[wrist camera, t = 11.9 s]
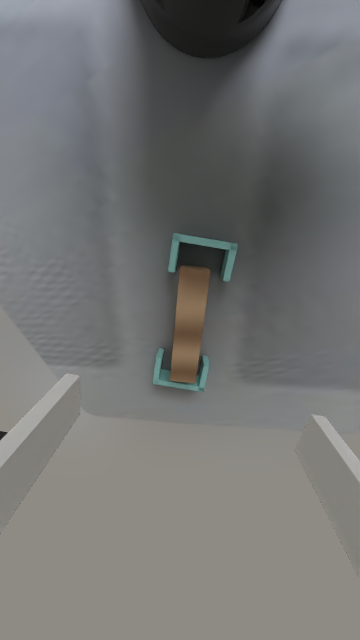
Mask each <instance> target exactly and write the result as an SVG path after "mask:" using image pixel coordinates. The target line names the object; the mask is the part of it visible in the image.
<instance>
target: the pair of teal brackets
mask: <svg viewBox="0 0 360 640" xmlns="http://www.w3.org/2000/svg"><path fill="white" fill-rule="evenodd" d="M180 242H182V243H188V244H194V245H200V246H206V247H212V248H218V249H224V250H226V251H225V256H224V260H223V265H222V269H221V274H220V278H221V279H222V280H223V281H228V282H229V281H230V277H231V273H232V269H233V264H234V260H235V256H236V252H237V247H238V244H236V243H230V242H224V241H218V240H212V239H206V238H200V237H194V236H188V235H183V234H177V233H173V238H172V246H171V253H170V260H169V267H168V272H175V271H176V267H177V260H178V254H179V247H180ZM163 354H164V349H162V348H159V350H158V353H157V356H156V362H155V369H154V376H153V383H152V384H157V385H163V386H169V387H175V388H181V389H187V390H193V391H199V392H203V391H204V387H205V383H206V379H207V375H208V370H209V361H208V356H204V355H203V356H202V361H201V365H200V370H199V374H198V375H197V376H196V383H187V382H177V381H170V373H171V370H165V369H161V367H162V360H163Z"/></svg>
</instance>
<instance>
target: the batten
mask: <svg viewBox="0 0 360 640" xmlns="http://www.w3.org/2000/svg"><path fill="white" fill-rule="evenodd" d="M210 273H211V271H210V270H209V268H208V267H199V266H189V265H181V267H180V272H179V283H178V294H177V306H176V317H175V328H174V339H173V351H172V362H171V373H170V381H177V382H187V383H196V376H197V369H198V361H199V354H200V347H201V339H202V332H203V324H204V317H205V310H206V302H207V295H208V288H209V280H210Z"/></svg>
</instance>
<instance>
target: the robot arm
mask: <svg viewBox="0 0 360 640" xmlns="http://www.w3.org/2000/svg"><path fill="white" fill-rule="evenodd" d="M141 1H142V4H143V6H144V8H145V10H146V12H147V14H148V16H149V18H150V20H151V21H152V23H153V25H154V26H155V27H156V29H157V30H158V31H159V33H160V34H161V35H162V36H163V37H164V38H165V39H166V40H167V41H168V42H169V43H170V44H172V45H173V46H174V47H176V48H177V49H179V50H181V51H183V52H185V53H187V54H190V55H193V56H198V57H218V56H222V55H226V54H228V53H231V52H233V51H235V50H237V49H239V48H241V47H242V46H244V45H245V44H247V43H248V42H249V41H250V40H252V39H253V38H254V37H255V36H256V35H257V34H258V33H259V32H260V31H261V30H262V29H263V28H264V26H265V25H266V24H267V23H268V21H269V20H270V18H271V17H272V16H273V14H274V12H275V11H276V9H277V7H278V5H279V4H280V2H281V0H141ZM79 415H80V376H79V375H73V374H67V373H66V374H65V375H64V376H63V377H62V378H61V379H60V380H59V381H58V382H57V383H56V384H55V385H54V387H52V388H51V390H49V392H48V393H47V394H46V395H45V396H44V397H43V398H42V399H41V400H40V401H39V402H38V403H37V404H36V405H35V406H34V407H33V408H32V409H31V410H30V411H29V412H28V413H27V414H26V415H25V416H24V417H23V418H22V419H21V420H20V421H19V422H18V423H17V424H16V425H15V426H14V427H13V428H12V429H11V430H10V431H9V432H2V431H0V534H1V532H2V530H3V529H4V528H5V526H6V525H7V523H8V522H9V520H10V518H11V517H12V515H13V514H14V513H15V511H16V509H17V508H18V506H19V505H20V504H21V502H22V501H23V499H24V498H25V496H26V494H27V493H28V491H29V490H30V489H31V487H32V486H33V484H34V483H35V481H36V479H37V478H38V476H39V475H40V473H41V472H42V470H43V469H44V467H45V466H46V464H47V463H48V461H49V460H50V458H51V457H52V455H53V454H54V452H55V451H56V449H57V448H58V446H59V445H60V443H61V442H62V440H63V439H64V437H65V436H66V434H67V433H68V431H69V430H70V428H71V427H72V425H73V424H74V422H75V421H76V419H77V418H78V416H79ZM295 452H296V454H297V455H298V458H299V460H300V462H301V464H302V466H303V468H304V470H305V472H306V473H307V475H308V478H309V479H310V481H311V484H312V486H313V487H314V489H315V491H316V493H317V495H318V497H319V499H320V501H321V503H322V505H323V507H324V509H325V511H326V513H327V515H328V517H329V519H330V521H331V523H332V525H333V527H334V529H335V531H336V533H337V535H338V537H339V539H340V541H341V543H342V545H343V547H344V549H345V551H346V553H347V555H348V557H349V559H350V561H351V563H352V565H353V567H354V569H355V571H356V573H357V575H358V577H359V579H360V461H359V460H358V459H357V457H356V456H355V455H354V454H353V452H352V451H351V450H350V448H349V447H348V446H347V445H346V443H345V442H344V441H343V439H342V438H341V437H340V436H339V434H338V433H337V432H336V430H335V429H334V428H333V427H332V425H331V424H330V423H329V421H328V420H327V419H326V417H324V416H318V415H312V414H311V416H310V418H309V420H308V423H307V425H306V427H305V429H304V431H303V433H302V435H301V437H300V440H299V442H298V444H297V446H296V448H295Z"/></svg>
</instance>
